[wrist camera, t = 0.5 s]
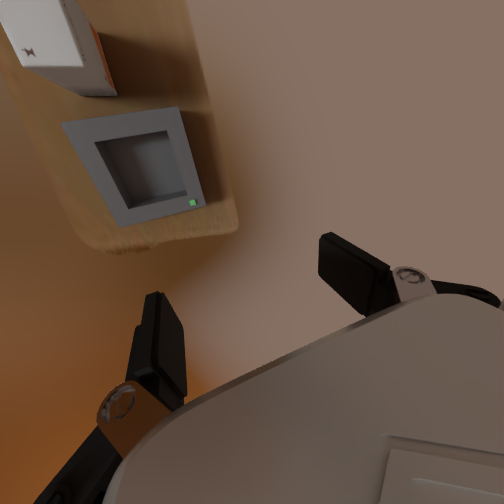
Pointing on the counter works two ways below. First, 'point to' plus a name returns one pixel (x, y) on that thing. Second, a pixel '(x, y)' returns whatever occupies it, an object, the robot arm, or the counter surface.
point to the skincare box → (58, 44)
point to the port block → (139, 163)
